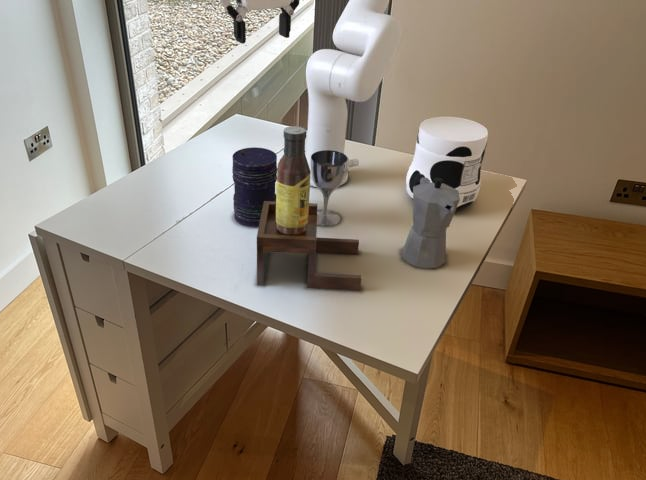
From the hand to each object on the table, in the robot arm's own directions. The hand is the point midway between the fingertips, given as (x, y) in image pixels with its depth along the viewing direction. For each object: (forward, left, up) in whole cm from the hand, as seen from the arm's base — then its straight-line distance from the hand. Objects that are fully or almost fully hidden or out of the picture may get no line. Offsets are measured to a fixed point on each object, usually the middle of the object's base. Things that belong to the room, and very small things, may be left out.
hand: (262, 39), depth 115 cm
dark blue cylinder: (+3, +2, -38) cm, 39 cm away
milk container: (-41, +15, -38) cm, 58 cm away
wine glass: (-11, +10, -38) cm, 41 cm away
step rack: (+3, +26, -38) cm, 46 cm away
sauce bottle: (+6, +23, -30) cm, 38 cm away
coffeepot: (-21, +32, -38) cm, 54 cm away
